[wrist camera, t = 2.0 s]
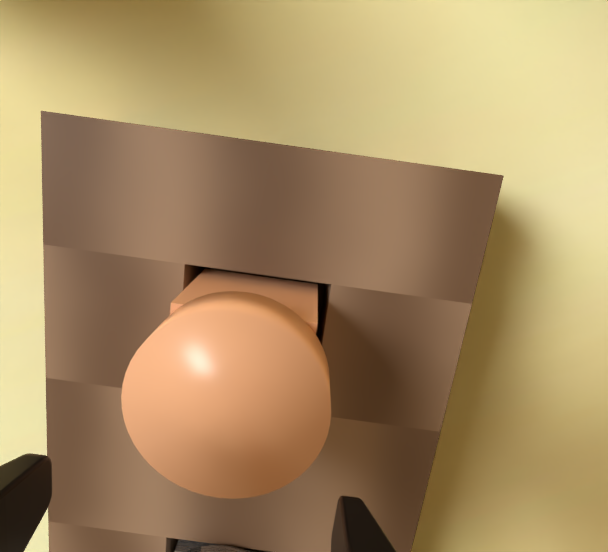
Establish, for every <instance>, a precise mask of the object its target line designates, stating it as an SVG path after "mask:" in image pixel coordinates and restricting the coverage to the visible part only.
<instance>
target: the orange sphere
mask: <svg viewBox="0 0 608 552" xmlns="http://www.w3.org/2000/svg"><path fill="white" fill-rule="evenodd" d="M317 324H318V284H312V283H305V282H298V281H291V280H283V279H276V278H269V277H262V276H255V275H247V274H240V273H233V272H226V271H219V270H211V269H204V270H203V271H202V272H201V273H200V274H199V275H198V276H197V277H196V278H195V279H194V280H193V281H192V282H191V283H190V284H189V285H188V286H187V287H186V288H185V289H184V290H183V291H182V292H181V293H180V294H179V295H178V296H177V297H176V298H175V299H174V300H173V301H172V302H171V306H170V315H169V316H168V317H167V318H166V319H165V320H164V321H163V322H162V323H161V324H160V325H159V327H158V328H157V329H156V330H155V331H154V332H153V333H152V334H151V335H150V336H149V337H148V338H147V339H146V340H145V342H144V343H143V344H142V345H141V346H140V347H139V349H138V350H137V351H136V353H135V355H134V356H133V358H132V359H131V361H130V363H129V366H128V368H127V370H126V373H125V377H124V381H123V385H122V394H121V402H122V412H123V418H124V422H125V425H126V428H127V431H128V433H129V435H130V437H131V439H132V442H133V444H134V445H135V447H136V448H137V450H138V451H139V453H140V454H141V455H142V456H143V458H144V459H145V460H146V461H147V462H148V463H149V464H150V465H151V466H152V467H153V468H154V469H155V470H156V471H157V472H158V473H160V474H161V475H163V476H164V477H165V478H167V479H168V480H170V481H171V482H173V483H175V484H177V485H178V486H180V487H183V488H185V489H187V490H190V491H192V492H195V493H199V494H202V495H206V496H211V497H216V498H227V499H238V498H249V497H256V496H260V495H263V494H267V493H270V492H272V491H275V490H278V489H280V488H282V487H284V486H285V485H287V484H289V483H291V482H292V481H294V480H295V479H296V478H298V477H299V476H300V475H301V474H302V473H304V472H305V471H306V470H307V469H308V468H309V467H310V465H311V464H312V463H313V462H314V460H315V459H316V458H317V456H318V455H319V453H320V451H321V450H322V448H323V446H324V443H325V441H326V438H327V435H328V431H329V427H330V421H331V398H330V379H329V367H328V362H327V358H326V355H325V352H324V349H323V347H322V345H321V343H320V341H319V339H318V337H317V336H316V330H317Z"/></svg>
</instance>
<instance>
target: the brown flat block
mask: <svg viewBox="0 0 608 552" xmlns="http://www.w3.org/2000/svg"><path fill="white" fill-rule="evenodd" d="M41 140H42V194H43V249H44V303H45V357H46V412H47V456H48V457H49V458H50V459H51V462H52V497H51V501H50V504H49V506H48V521H49V552H174V551H175V549H176V546H177V543H178V540H179V539H182V540H189V541H197V542H204V543H211V544H219V545H226V546H234V547H241V548H248V549H256V550H263V551H271V552H331V537H332V530H333V524H334V519H335V513H336V508H337V503H338V499H339V497H340V496H350V497H358V498H360V499H362V500H363V502H364V503H365V505H366V506H367V508H368V509H369V511H370V512H371V514H372V515H373V517H374V518H375V520H376V521H377V523H378V524H379V526H380V527H381V529H382V530H383V532H384V533H385V535H386V536H387V538H388V539H389V541H390V542H391V544H392V545H393V547H394V548H395V550H396V551H397V552H411V549H412V545H413V541H414V537H415V533H416V529H417V525H418V521H419V517H420V513H421V509H422V504H423V500H424V496H425V492H426V488H427V484H428V480H429V476H430V472H431V468H432V464H433V460H434V456H435V452H436V448H437V444H438V440H439V436H440V432H441V427H442V423H443V419H444V415H445V411H446V407H447V403H448V399H449V395H450V391H451V387H452V383H453V379H454V375H455V371H456V367H457V363H458V359H459V354H460V350H461V346H462V342H463V338H464V334H465V330H466V326H467V322H468V318H469V314H470V310H471V306H472V302H473V298H474V294H475V290H476V286H477V282H478V277H479V273H480V269H481V265H482V261H483V257H484V253H485V249H486V245H487V241H488V237H489V233H490V229H491V225H492V221H493V217H494V213H495V209H496V204H497V200H498V196H499V192H500V188H501V184H502V180H503V176H502V175H495V174H488V173H481V172H474V171H466V170H459V169H452V168H445V167H438V166H431V165H424V164H417V163H409V162H402V161H395V160H388V159H381V158H374V157H367V156H359V155H352V154H345V153H338V152H331V151H324V150H317V149H310V148H302V147H295V146H288V145H281V144H274V143H267V142H260V141H252V140H245V139H238V138H231V137H224V136H217V135H210V134H203V133H195V132H188V131H181V130H174V129H167V128H160V127H153V126H145V125H138V124H131V123H124V122H117V121H110V120H103V119H96V118H88V117H81V116H74V115H67V114H60V113H53V112H46V111H41ZM204 269H211V270H219V271H226V272H233V273H240V274H247V275H255V276H262V277H269V278H276V279H283V280H291V281H298V282H305V283H312V284H318V324H317V330H316V336H317V337H318V339H319V341H320V343H321V345H322V347H323V349H324V352H325V355H326V358H327V362H328V367H329V379H330V398H331V421H330V427H329V431H328V435H327V438H326V441H325V443H324V446H323V448H322V450H321V451H320V453H319V455H318V456H317V458H316V459H315V460H314V462H313V463H312V464H311V465H310V467H309V468H308V469H307V470H306V471H305V472H304V473H302V474H301V475H300V476H299V477H298V478H296V479H295V480H294V481H292V482H291V483H289V484H287V485H285V486H284V487H282V488H280V489H278V490H275V491H272V492H270V493H267V494H263V495H260V496H256V497H249V498H238V499H227V498H216V497H211V496H206V495H202V494H199V493H195V492H192V491H190V490H187V489H185V488H183V487H180V486H178V485H177V484H175V483H173V482H171V481H170V480H168V479H167V478H165V477H164V476H163V475H161V474H160V473H158V472H157V471H156V470H155V469H154V468H153V467H152V466H151V465H150V464H149V463H148V462H147V461H146V460H145V459H144V458H143V456H142V455H141V454H140V453H139V451H138V450H137V448H136V447H135V445H134V444H133V442H132V439H131V437H130V435H129V433H128V431H127V428H126V425H125V422H124V418H123V412H122V402H121V394H122V385H123V381H124V377H125V373H126V370H127V368H128V366H129V363H130V361H131V359H132V358H133V356H134V355H135V353H136V351H137V350H138V349H139V347H140V346H141V345H142V344H143V343H144V342H145V340H146V339H147V338H148V337H149V336H150V335H151V334H152V333H153V332H154V331H155V330H156V329H157V328H158V327H159V325H160V324H161V323H162V322H163V321H164V320H165V319H166V318H167V317H168V316H169V315H170V306H171V302H172V301H173V300H174V299H175V298H176V297H177V296H178V295H179V294H180V293H181V292H182V291H183V290H184V289H185V288H186V287H187V286H188V285H189V284H190V283H191V282H192V281H193V280H194V279H195V278H196V277H197V276H198V275H199V274H200V273H201V272H202V271H203V270H204Z"/></svg>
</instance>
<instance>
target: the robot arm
mask: <svg viewBox="0 0 608 552" xmlns="http://www.w3.org/2000/svg"><path fill="white" fill-rule="evenodd" d="M51 497H52V462H51V459H50V458H49V457H48V456H45V455H38V454H25V455H22V456H20V457H18V458H16V459H14V460H12V461H10V462H8V463H6V464H3V465H1V466H0V552H24V550H25V548H26V546H27V545H28V543H29V541H30V539H31V537H32V535H33V534H34V532H35V530H36V528H37V526H38V525H39V523H40V521H41V519H42V517H43V515H44V514H45V512H46V510H47V508H48V506H49V504H50V501H51ZM331 552H397V551H396V550H395V548H394V547H393V545H392V544H391V542H390V541H389V539H388V538H387V536H386V535H385V533H384V532H383V530H382V529H381V527H380V526H379V524H378V523H377V521H376V520H375V518H374V517H373V515H372V514H371V512H370V511H369V509H368V508H367V506H366V505H365V503H364V502H363V500H362V499H360V498H358V497H350V496H340V497H339V499H338V503H337V508H336V513H335V519H334V524H333V530H332V537H331Z"/></svg>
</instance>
